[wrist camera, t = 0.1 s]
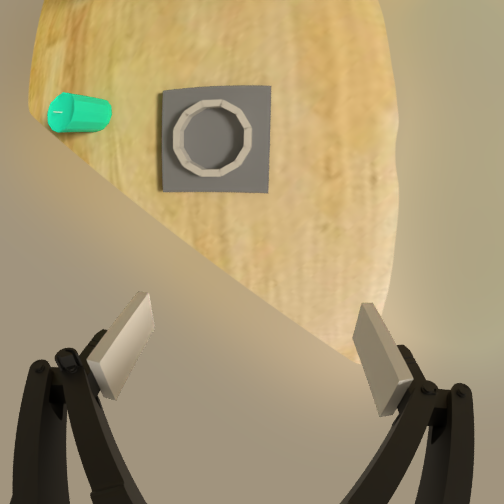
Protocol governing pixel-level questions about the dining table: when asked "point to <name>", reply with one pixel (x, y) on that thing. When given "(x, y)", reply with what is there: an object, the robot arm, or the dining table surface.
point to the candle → (78, 113)
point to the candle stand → (216, 139)
